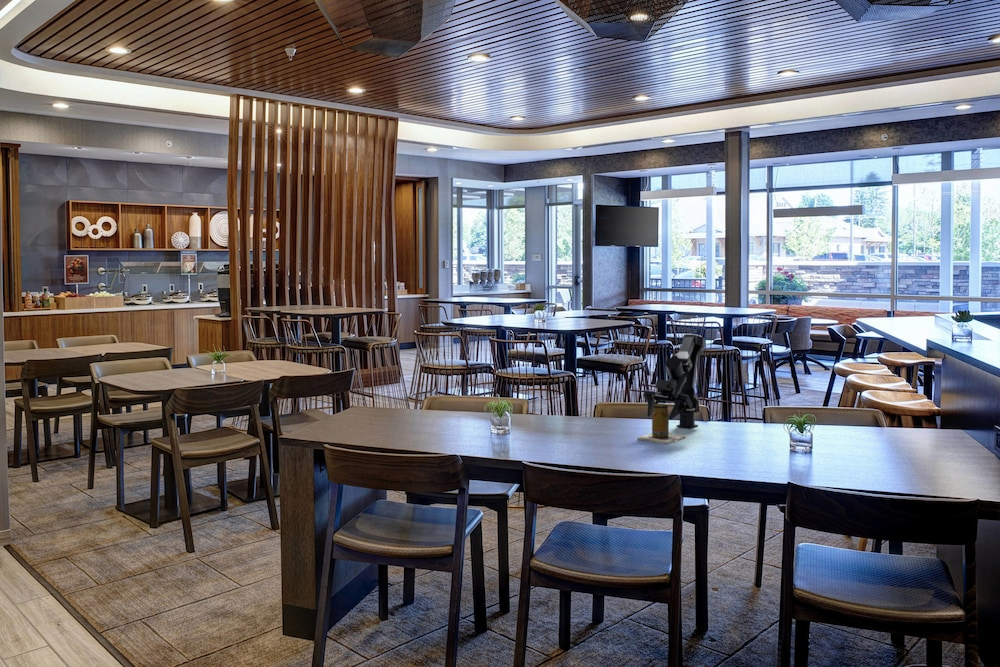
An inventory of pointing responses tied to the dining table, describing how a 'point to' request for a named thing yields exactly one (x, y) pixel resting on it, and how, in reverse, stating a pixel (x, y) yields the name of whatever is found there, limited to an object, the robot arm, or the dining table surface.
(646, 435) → the serving board
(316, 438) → the dining table surface
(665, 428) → the condiment
